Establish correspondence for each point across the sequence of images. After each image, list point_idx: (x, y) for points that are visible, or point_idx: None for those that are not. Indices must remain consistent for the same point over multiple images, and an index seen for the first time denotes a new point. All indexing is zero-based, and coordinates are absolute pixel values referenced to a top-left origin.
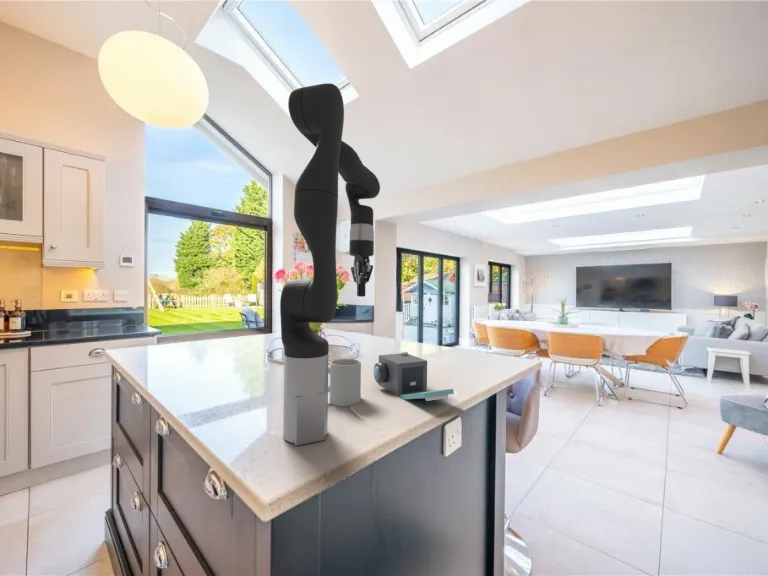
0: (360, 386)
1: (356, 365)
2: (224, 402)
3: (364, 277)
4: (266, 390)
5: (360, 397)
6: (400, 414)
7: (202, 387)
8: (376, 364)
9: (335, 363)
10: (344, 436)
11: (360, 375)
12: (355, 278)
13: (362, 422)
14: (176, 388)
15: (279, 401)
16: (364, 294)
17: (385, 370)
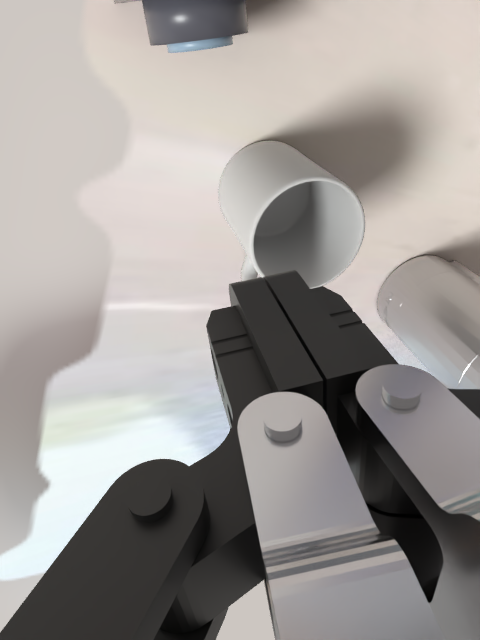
0: (301, 155)
1: (360, 202)
2: (185, 449)
3: (455, 510)
4: (106, 394)
5: (290, 146)
6: (429, 41)
7: (58, 516)
8: (189, 41)
9: (261, 267)
10: (459, 223)
11: (320, 167)
12: (217, 629)
13: (420, 172)
14: (61, 550)
15: (210, 354)
16: (325, 290)
17: (244, 5)
